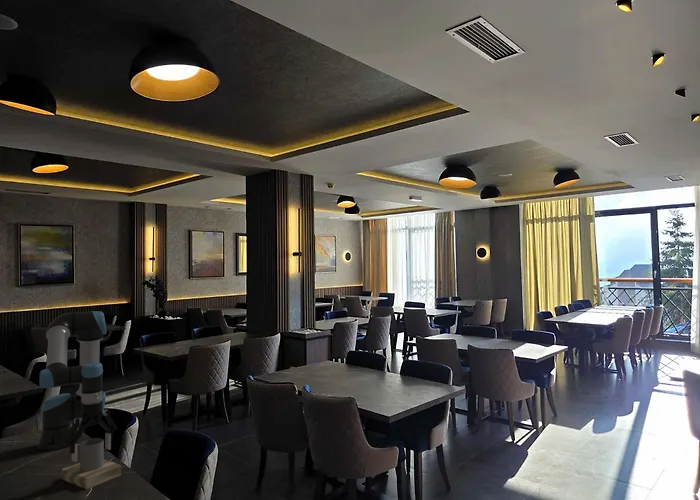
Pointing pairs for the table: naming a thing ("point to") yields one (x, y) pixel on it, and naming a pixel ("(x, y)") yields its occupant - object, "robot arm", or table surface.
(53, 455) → the table surface
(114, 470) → the oak stand
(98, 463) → the cup
